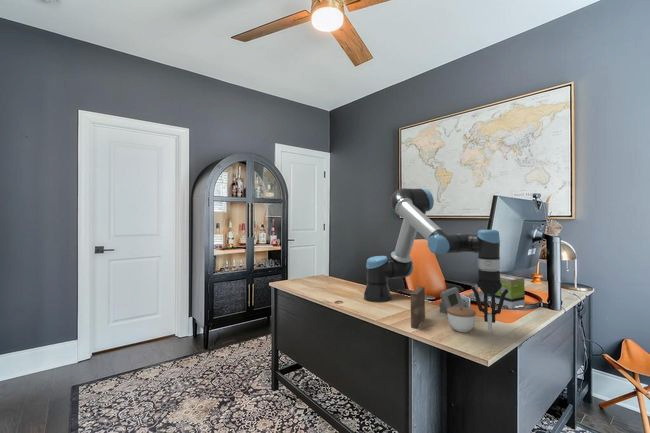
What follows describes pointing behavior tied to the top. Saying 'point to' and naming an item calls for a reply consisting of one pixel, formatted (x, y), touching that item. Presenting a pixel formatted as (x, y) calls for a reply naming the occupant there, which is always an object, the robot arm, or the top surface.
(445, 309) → the digital clock
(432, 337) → the top surface
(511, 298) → the tea box
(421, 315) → the walnut board
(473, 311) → the lidded jar
